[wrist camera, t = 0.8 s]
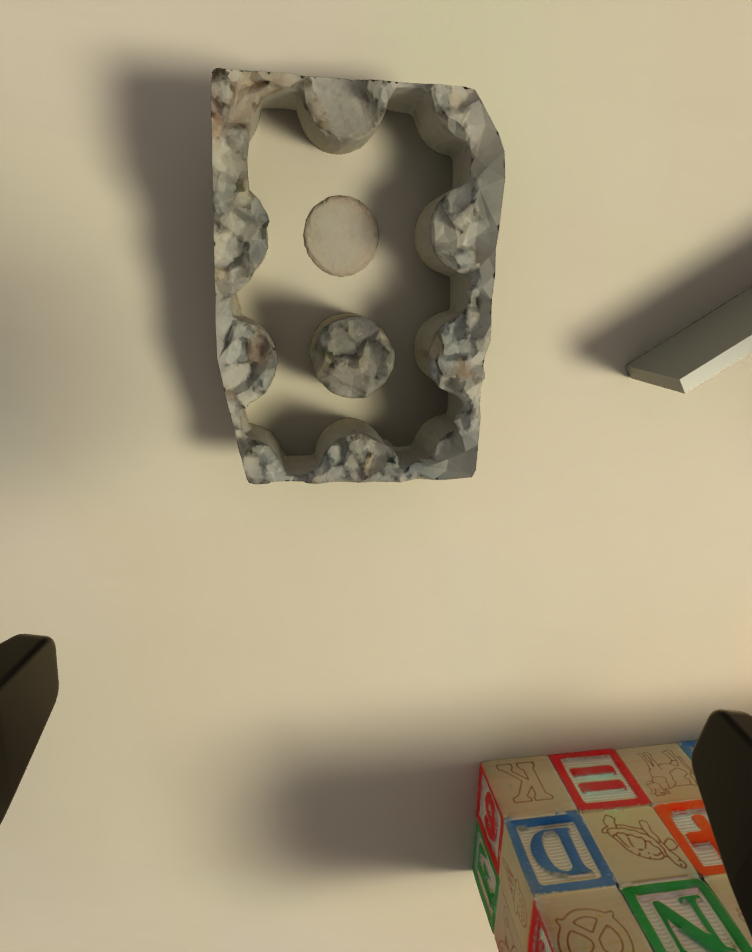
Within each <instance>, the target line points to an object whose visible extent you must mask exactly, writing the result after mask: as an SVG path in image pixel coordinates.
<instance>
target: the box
mask: <svg viewBox="0 0 752 952" xmlns="http://www.w3.org/2000/svg"><path fill="white" fill-rule="evenodd" d="M750 353H752V287H751V288H749V289H748V290H746V291H744V292H743V293H741V294H740V295H738V296H736V297H735V298H733V299H732V300H730V301H728V302H727V303H725V304H724V305H722V306H720V307H719V308H717V309H716V310H714V311H712V312H711V313H709V314H708V315H706V316H704V317H703V318H701V319H700V320H698V321H696V322H695V323H693V324H692V325H690V326H688V327H687V328H685V329H684V330H682V331H680V332H679V333H677V334H676V335H674V336H672V337H671V338H669V339H668V340H666V341H664V342H663V343H661V344H660V345H658V346H656V347H655V348H653V349H652V350H650V351H648V352H647V353H645V354H644V355H642V356H640V357H639V358H637V359H636V360H634V361H632V362H631V363H629V364H628V365H626V368H627V370H628V373H629V375H630V377H631V378H632V379H636V380H639V381H643V382H646V383H650V384H653V385H657V386H660V387H664V388H667V389H671V390H674V391H678V392H681V393H687V392H689V391H690V390H692V389H694V388H695V387H697V386H698V385H700V384H702V383H703V382H705V381H706V380H708V379H710V378H711V377H713V376H714V375H716V374H718V373H719V372H721V371H723V370H724V369H726V368H727V367H729V366H731V365H732V364H734V363H735V362H737V361H739V360H740V359H742V358H744V357H745V356H747V355H748V354H750Z"/></svg>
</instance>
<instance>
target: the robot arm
mask: <svg viewBox="0 0 752 952" xmlns="http://www.w3.org/2000/svg"><path fill="white" fill-rule="evenodd" d="M58 689H59V680H58V669H57V657H56V647H55V643H54V641H53V639H52V638H50V637H48V636H41V635H31V634H19V635H16V636H14V637H11V638H10V639H8V640H6V641H4V642H2V643H0V824H1V822H2V821H3V819H4V817H5V814H6V812H7V810H8V808H9V806H10V804H11V802H12V800H13V797H14V795H15V793H16V791H17V788H18V786H19V784H20V782H21V779H22V777H23V775H24V773H25V770H26V768H27V766H28V763H29V761H30V759H31V757H32V754H33V752H34V750H35V748H36V745H37V743H38V741H39V739H40V736H41V734H42V732H43V730H44V727H45V725H46V723H47V721H48V718H49V716H50V714H51V712H52V709H53V707H54V705H55V702H56V699H57V695H58ZM691 762H692V768H693V772H694V775H695V779H696V782H697V785H698V788H699V791H700V794H701V797H702V800H703V803H704V807H705V810H706V813H707V816H708V819H709V822H710V825H711V828H712V832H713V835H714V838H715V841H716V844H717V847H718V850H719V853H720V857H721V860H722V863H723V866H724V869H725V871H726V874H727V877H728V880H729V883H730V886H731V888H732V891H733V893H734V896H735V898H736V901H737V903H738V906H739V908H740V910H741V913H742V915H743V918H744V920H745V922H746V925H747V927H748V929H749V932H750V934H751V937H752V716H751V715H749V714H747V713H744V712H740V711H731V710H722V709H719V710H715V711H714V712H712V713H711V714H710V716H709V717H708V719H707V721H706V723H705V725H704V728H703V730H702V732H701V734H700V736H699V738H698V740H697V742H696V744H695V746H694V748H693V751H692V761H691Z"/></svg>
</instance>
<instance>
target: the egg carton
mask: <svg viewBox="0 0 752 952" xmlns="http://www.w3.org/2000/svg"><path fill="white" fill-rule="evenodd" d="M212 73H213V75H212V81H211V108H212V111H211V120H212V165H213V199H214V265H215V290H216V341H217V359H218V364H219V368H220V372H221V377H222V381H223V386H224V391H225V395H226V399H227V403H228V407H229V411H230V414H231V418H232V422H233V426H234V430H235V434H236V439H237V443H238V448H239V452H240V455H241V458H242V462H243V467H244V470H245V474H246V478H247V480H248V482H249V483H252V484H267V483H270V482H274V481H304V482H306V483H313V484H320V483H326V482H374V481H376V482H403V481H409V480H413V479H431V480H447V479H457V478H467V477H472V476H473V474H474V472H475V470H476V461H477V450H478V439H479V427H480V417H481V416H480V393H481V385H482V382H483V380H484V379H485V373H484V368H483V363H484V358H485V354H486V352H487V349H488V346H489V344H490V341H491V307H492V294H493V286H494V278H495V257H496V244H497V238H498V232H499V224H500V216H501V208H502V199H503V191H504V183H505V156H504V149H503V146H502V143H501V140H500V136H499V134H498V132H497V130H496V128H495V126H494V124H493V122H492V120H491V118H490V116H489V115H488V113H487V111H486V109H485V107H484V105H483V103H482V101H481V99H480V98H479V96H478V94H477V93H476V91H475V89H471V88H467V87H463V86H451V85H442V84H418V83H403V82H391V81H382V80H349V79H338V78H325V77H304V76H299V75H292V74H286V73H273V72H259V71H242V70H230V69H221V68H216V69H214V71H213V72H212ZM265 108H273V109H290V110H295V111H296V112H297V114H298V117H299V120H300V123H301V126H302V129H303V131H304V133H305V134H306V136H307V138H308V139H309V140H310V141H311V142H312V143H313V144H314V145H315V146H317V147H318V148H319V149H321V150H322V151H324V152H327V153H331V154H346V153H350V152H352V151H355V150H357V149H359V148H361V147H362V146H363V145H364V144H365V143H367V141H368V140H369V139H370V137H371V136H372V135H373V133H374V132H375V130H376V129H377V127H378V126H379V124H380V122H381V120H382V119H383V117H384V115H385V112H386V110H389V111H393V112H404V113H409V114H410V115H411V116H412V117H413V118H414V122H415V125H416V127H417V131H418V133H419V135H420V136H421V138H422V140H423V142H424V143H425V144H426V145H427V146H428V147H429V148H431V149H432V150H434V151H436V152H437V153H440V154H446V155H447V156H449V157H451V158H452V162H453V184H452V189H451V190H450V191H448V192H446V193H444V194H443V195H440V196H438V197H436V198H435V199H434V200H432V201H431V202H430V203H428V204H427V205H426V206H425V207H424V209H423V210H422V211H421V213H420V215H419V217H418V219H417V222H416V226H415V230H414V239H415V245H416V248H417V252H418V255H419V257H420V258H421V259H422V261H423V262H424V263H425V264H426V265H427V266H428V267H430V269H432V270H433V271H436V272H438V273H441V274H443V275H446V276H448V277H449V278H450V283H451V285H450V308H449V310H446V311H443V312H440V313H437V314H435V315H433V316H431V317H430V318H429V319H428V320H426V321H425V322H424V323H423V325H422V326H421V327H420V328H419V330H418V332H417V334H416V338H415V343H414V357H415V361H416V363H417V365H418V367H419V369H420V370H421V371H422V372H423V373H424V374H425V375H426V376H428V377H429V378H430V379H432V380H433V381H435V382H436V384H437V385H438V386H439V387H440V388H441V389H443V390H445V391H448V410H447V412H446V413H445V414H441V415H438V416H435V417H433V418H431V419H430V420H428V421H427V422H425V423H424V424H423V425H422V427H421V428H420V430H419V431H418V432H417V434H416V436H415V438H414V441H413V443H412V444H411V445H408V446H406V447H400V446H399V447H392V445H391V444H390V442H389V441H387V440H385V439H382V438H381V437H380V436H379V435H378V434H377V432H376V431H375V430H374V429H373V428H372V427H371V426H369V425H368V424H367V423H365V422H364V421H361V420H358V419H353V418H344V419H341V420H338V421H335V422H333V423H332V424H330V425H329V426H327V427H326V428H325V429H324V430H323V431H322V433H321V434H320V436H319V438H318V440H317V443H316V447H315V452H314V453H313V454H312V455H295V456H289V455H285V454H284V453H283V451H282V449H281V447H280V444H279V442H278V440H277V439H276V438H275V437H274V435H273V434H272V433H271V432H270V431H269V430H267V429H265V428H263V427H261V426H258V425H254V424H251V423H249V422H248V419H247V416H246V412H245V408H246V407H247V406H248V404H249V403H251V402H253V401H255V400H257V399H258V398H259V397H261V396H262V395H263V394H264V393H265V392H266V391H267V389H268V388H269V386H270V384H271V382H272V380H273V378H274V376H275V372H276V366H277V363H278V360H277V353H276V349H275V346H274V343H273V340H272V338H271V336H270V334H269V333H268V332H267V331H266V329H265V328H264V327H262V326H261V325H259V324H258V323H256V322H255V321H253V320H251V319H249V318H246V317H243V316H242V314H241V308H240V304H239V301H238V297H237V294H236V292H237V291H239V290H240V289H241V288H242V287H243V286H244V285H245V284H247V283H248V282H249V281H250V279H251V277H252V275H253V273H254V271H255V270H256V269H257V268H258V267H259V266H260V264H261V263H262V262H263V260H264V258H265V255H266V252H267V249H268V234H267V226H268V223H269V219H268V215H267V213H266V211H265V209H264V208H263V206H262V204H261V202H260V200H259V199H258V198H257V197H256V196H255V195H254V194H253V193H252V192H251V191H250V190H249V182H248V166H247V156H248V147H249V142H250V140H251V139H252V137H253V135H254V134H255V132H256V128H257V125H258V122H259V118H260V113H261V111H262V109H265ZM378 237H379V232H378V226H377V223H376V221H375V218H374V216H373V215H372V213H371V212H370V211H369V210H368V208H367V207H365V206H364V205H363V204H362V203H361V202H360V201H359V200H357V199H355V198H352V197H348V196H334V197H329V198H328V199H326V201H323V202H321V203H320V204H318V205H317V206H315V207H314V208H313V210H312V212H311V214H310V215H309V217H308V218H307V220H306V225H305V231H304V239H305V242H306V246H305V247H306V248H307V249H308V254H309V256H310V257H311V259H312V260H313V262H314V263H315V264H316V265H317V266H318V267H319V268H320V269H321V270H322V271H324V272H326V273H328V274H330V275H334V276H339V277H344V276H349V275H353V274H355V273H357V272H359V271H360V270H362V269H364V268H365V267H366V266H367V265H368V263H369V262H370V261H371V259H372V258H373V256H374V253H375V250H376V247H377V244H378ZM310 357H311V360H312V364H313V367H314V371H315V374H316V377H317V378H318V379H319V380H320V381H321V383H322V384H323V385H324V386H325V387H326V388H327V389H328V390H329V391H331V392H332V393H334V394H336V395H339V396H343V397H347V398H366V397H367V396H368V395H370V394H371V393H373V392H374V391H376V390H377V389H378V388H380V387H382V386H383V384H384V383H385V382H386V380H387V378H388V377H389V375H390V373H391V371H392V369H393V366H394V360H395V353H394V349H393V347H392V345H391V344H390V342H389V340H388V338H387V336H386V334H385V333H384V331H383V329H382V328H380V327H379V326H378V325H377V324H376V323H375V322H373V321H371V320H369V319H367V318H364V317H362V316H359V315H357V314H353V313H345V314H337V315H334V316H332V317H329V318H327V319H325V320H324V321H323V322H322V323H321V324H320V325H319V326H318V328H317V329H316V331H315V333H314V335H313V337H312V340H311V343H310ZM328 393H329V392H328Z"/></svg>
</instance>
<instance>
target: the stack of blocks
mask: <svg viewBox="0 0 752 952" xmlns="http://www.w3.org/2000/svg"><path fill="white" fill-rule="evenodd" d="M696 742H697V740H696V741H686V742H680V743H677V744H674V743H671V744H661V745H653V746H643V747H634V748H625V749H617V750H614V749H603V750H592V751H583V752H573V753H564V754H554V755H547V756H546V755H540V756H530V757H520V758H510V759H500V760H491V761H484V762H481V763H480V773H479V785H478V798H477V811H476V817H477V825H476V836H475V847H474V859H473V868H472V869H473V873H474V876H475V880H476V883H477V886H478V889H479V893H480V896H481V899H482V902H483V905H484V908H485V911H486V914H487V917H488V920H489V923H490V927H491V929H492V932H493V934H494V935H495V940H496V943H497V947H498V950H499V952H752V937H751V934H750V932H749V929H748V927H747V925H746V922H745V920H744V918H743V915H742V913H741V910H740V908H739V906H738V903H737V901H736V898H735V896H734V893H733V891H732V888H731V886H730V883H729V880H728V877H727V874H726V871H725V869H724V866H723V863H722V860H721V857H720V853H719V850H718V847H717V844H716V841H715V838H714V835H713V832H712V828H711V825H710V822H709V819H708V816H707V813H706V810H705V807H704V803H703V800H702V797H701V794H700V791H699V788H698V785H697V782H696V779H695V775H694V772H693V768H692V762H691V761H692V751H693V748H694V746H695V744H696Z"/></svg>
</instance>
